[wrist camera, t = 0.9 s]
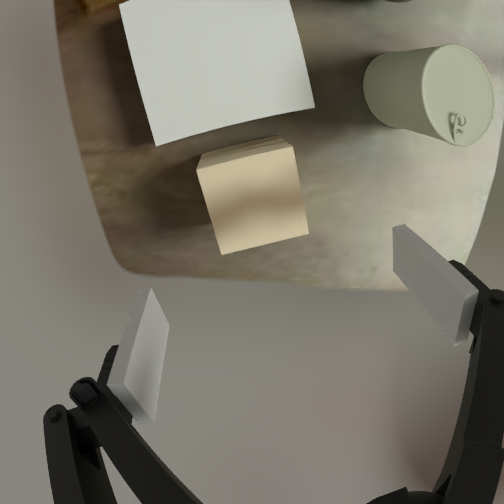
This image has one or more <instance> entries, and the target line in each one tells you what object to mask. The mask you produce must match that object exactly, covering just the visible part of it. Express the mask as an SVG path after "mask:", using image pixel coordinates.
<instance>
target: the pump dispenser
mask: <svg viewBox="0 0 504 504" xmlns="http://www.w3.org/2000/svg"><path fill="white" fill-rule="evenodd" d="M386 1H390V2H397V3H402V2H408V1H411V0H386Z"/></svg>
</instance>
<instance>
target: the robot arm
mask: <svg viewBox="0 0 504 504" xmlns="http://www.w3.org/2000/svg"><path fill="white" fill-rule="evenodd" d="M393 271H394V272H395V273H396V274H397V276H398V277H399V278H400V279H401V280H402V282H403V283H404V284H405V285H406V286H407V288H408V289H409V290H410V291H411V292H412V293H413V295H414V296H415V297H416V298H417V300H418V301H419V302H420V303H421V305H422V306H423V307H424V308H425V310H426V311H427V312H428V314H429V315H430V316H431V317H432V318H433V320H434V321H435V322H436V324H437V325H438V326H439V328H440V329H441V330H442V332H443V333H444V334H445V335H446V337H447V338H448V339H449V341H450V342H451V344H452V345H453V346H456V345H458V344H460V343H463V342H464V341H467V338H468V335H469V331H471V333H472V334H473V335H474V338H473V342H472V345H471V348H470V351H469V353H471V356H470V362H469V368H468V374H467V379H466V384H465V390H464V394H463V399H462V403H461V408H460V411H459V415H458V419H457V423H456V427H455V431H454V434H453V438H452V441H451V444H450V448H449V451H448V454H447V457H446V460H445V463H444V466H443V469H442V471H441V474H440V476H439V478H438V480H437V482H436V484H435V486H434V488H433V491H432V492H426V491H411V492H408V491H407V488H406V487H404V488H402V489H399V490H397V491H394V492H391V493H389V494H386V495H383V496H380V497H377V498H376V499H374V500H372V501H370V502H369V503H367V504H492V503H493V500H494V496H495V493H496V489H497V486H498V482H499V478H500V474H501V469H502V465H503V461H504V449H503V448H502V446H501V445H502V439H503V433H504V291H501V290H498V289H496V290H495V289H492V290H490V289H489V288H488V287H487V286H486V285H485V284H484V283H483V282H482V281H481V280H479V279H478V278H477V277H476V276H475V275H474V274H473V273H472V272H471V271H469V270H468V269H467V268H466V267H465V266H464V265H463V264H461V263H459V262H457V261H455V260H451V261H447V260H446V259H445V258H443V257H442V256H441V255H440V254H439V253H438V252H437V251H436V250H434V249H433V248H432V247H431V246H430V245H429V244H427V243H426V242H425V241H424V240H423V239H422V238H420V237H419V236H418V235H417V234H416V233H415V232H413V231H412V230H411V229H410V228H409V227H407V226H406V225H405V224H403V225H399V226H395V227H393ZM169 327H170V326H169V324H168V322H167V320H166V318H165V316H164V314H163V312H162V309H161V308H160V305H159V303H158V301H157V299H156V297H155V294H154V292H153V290H152V288H151V287H149V288H145V289H140V290H138V292H137V295H136V298H135V300H134V303H133V306H132V309H131V312H130V314H129V317H128V320H127V323H126V326H125V329H124V332H123V335H122V338H121V341H120V344H119V345H114V346H112V347H111V348H110V350H109V351H108V352H107V353H106V356H105V359H104V363H103V365H102V368H101V369H102V370H101V371H100V374H99V377H98V380H97V383H96V381H95V380H94V379H93V378H91V377H85V378H81V379H80V380H78V381H76V382H75V383H74V384H73V386H72V387H71V389H70V392H69V394H70V398H71V399H72V400H73V401H74V403H75V404H76V405H77V406H78V407H76V408H73V409H70V410H67V409H66V408H65V407H64V406H63V405H60V404H57V405H53V406H52V407H50V408H49V409H48V410H47V411H46V413H45V415H44V419H43V422H44V423H43V424H44V436H45V446H46V455H47V463H48V470H49V476H50V483H51V488H52V494H53V499H54V504H117V501H116V499H115V496H114V493H113V490H112V487H111V484H110V481H109V478H108V475H107V471H106V468H105V465H104V461H103V458H102V454H101V452H100V447H103V449H104V450H105V452H106V453H107V455H108V456H109V458H110V460H111V461H112V462H113V464H114V466H115V467H116V469H117V470H118V471H119V473H120V474H121V476H122V477H123V479H124V480H125V481H126V483H127V484H128V486H129V487H130V488H131V490H132V491H133V492H134V494H135V495H136V496H137V498H138V499H139V500H140V502H141V503H142V504H203V503H202V502H201V501H200V500H199V499H198V498H197V497H196V496H195V495H194V494H193V493H192V492H191V491H190V490H189V489H188V488H187V487H186V486H185V485H184V484H183V483H182V482H181V481H180V480H179V479H178V478H177V477H176V476H175V475H174V474H173V473H172V471H171V470H170V469H169V468H168V467H167V466H166V465H165V464H164V463H163V461H161V459H160V458H159V457H158V456H157V455H156V453H155V452H154V451H153V450H152V449H151V448H150V446H149V445H148V444H147V443H146V442H145V441H144V439H143V438H142V437H141V436H140V434H139V433H138V432H137V431H136V429H135V428H134V427H133V426H132V425H131V423H132V417H133V418H134V419H135V420H136V421H137V422H138V424H147V423H154V422H155V415H156V407H157V400H158V393H159V386H160V380H161V374H162V367H163V361H164V355H165V350H166V344H167V338H168V332H169Z"/></svg>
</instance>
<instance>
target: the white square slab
mask: <svg viewBox="0 0 504 504" xmlns="http://www.w3.org/2000/svg"><path fill="white" fill-rule="evenodd" d="M119 7H120V12H121V16H122V21H123V25H124V29H125V33H126V38H127V42H128V46H129V50H130V54H131V58H132V62H133V66H134V69H135V73H136V77H137V81H138V85H139V88H140V92H141V96H142V99H143V103H144V106H145V110H146V113H147V117H148V120H149V124H150V127H151V131H152V134H153V137H154V141H155V144H156V146H159V145H162V144H165V143H168V142H172V141H175V140H178V139H182V138H185V137H188V136H192V135H195V134H199V133H203V132H206V131H210V130H214V129H218V128H221V127H225V126H229V125H233V124H238V123H242V122H246V121H250V120H255V119H259V118H264V117H268V116H273V115H278V114H283V113H288V112H293V111H299V110H304V109H310V108H315V105H314V100H313V95H312V90H311V86H310V81H309V77H308V72H307V68H306V64H305V59H304V55H303V51H302V47H301V43H300V39H299V35H298V31H297V27H296V24H295V20H294V16H293V13H292V9H291V5H290V2H289V0H130V1H127V2H125V3H122V4H120V5H119Z"/></svg>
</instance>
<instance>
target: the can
mask: <svg viewBox="0 0 504 504" xmlns="http://www.w3.org/2000/svg"><path fill="white" fill-rule="evenodd" d="M363 91H364V96H365V100H366V102H367V105H368V107H369V109H370V110H371V112H372V113H373V114H374V115H375V117H376V118H377V119H378V120H380V121H381V122H382V123H384V124H385V125H387V126H390V127H393V128H397V129H406V130H410V131H414V132H417V133H421V134H424V135H428V136H431V137H434V138H437V139H440V140H443V141H446V142H448V143H450V144H452V145H455V146H469V145H472V144H474V143H476V142H478V141H479V140H480V139H481V138H482V137H483V136H484V135H485V134H486V132H487V131H488V129H489V127H490V125H491V122H492V119H493V115H494V109H495V95H494V89H493V84H492V81H491V78H490V76H489V74H488V71H487V69H486V68H485V66H484V65H483V63H482V62H481V61H480V59H479V58H478V57H477V56H476V55H475V54H474V53H472V52H471V51H470V50H468V49H466V48H465V47H462V46H459V45H455V44H447V45H442V46H438V47H430V48H423V49H416V50H409V51H402V52H386V53H383V54H381V55H379V56H377V57H376V58H375V59H373V60H372V62H371V63H370V64H369V66H368V67H367V69H366V72H365V75H364V80H363Z"/></svg>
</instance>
